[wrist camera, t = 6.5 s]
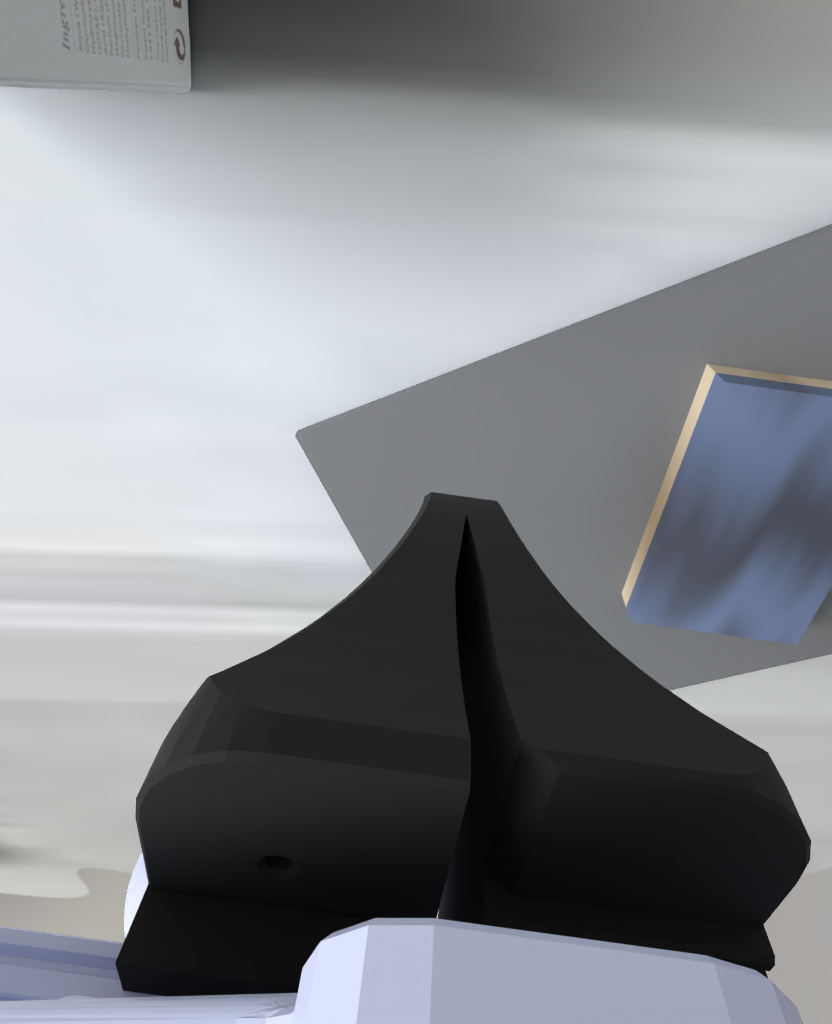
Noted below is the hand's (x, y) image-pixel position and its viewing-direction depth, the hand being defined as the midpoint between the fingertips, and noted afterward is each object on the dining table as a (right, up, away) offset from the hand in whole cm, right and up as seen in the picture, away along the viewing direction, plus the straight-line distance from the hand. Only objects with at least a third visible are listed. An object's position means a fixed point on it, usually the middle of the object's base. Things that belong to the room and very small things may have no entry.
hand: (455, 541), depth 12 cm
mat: (+7, 0, +11) cm, 13 cm away
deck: (+7, +1, +9) cm, 12 cm away
